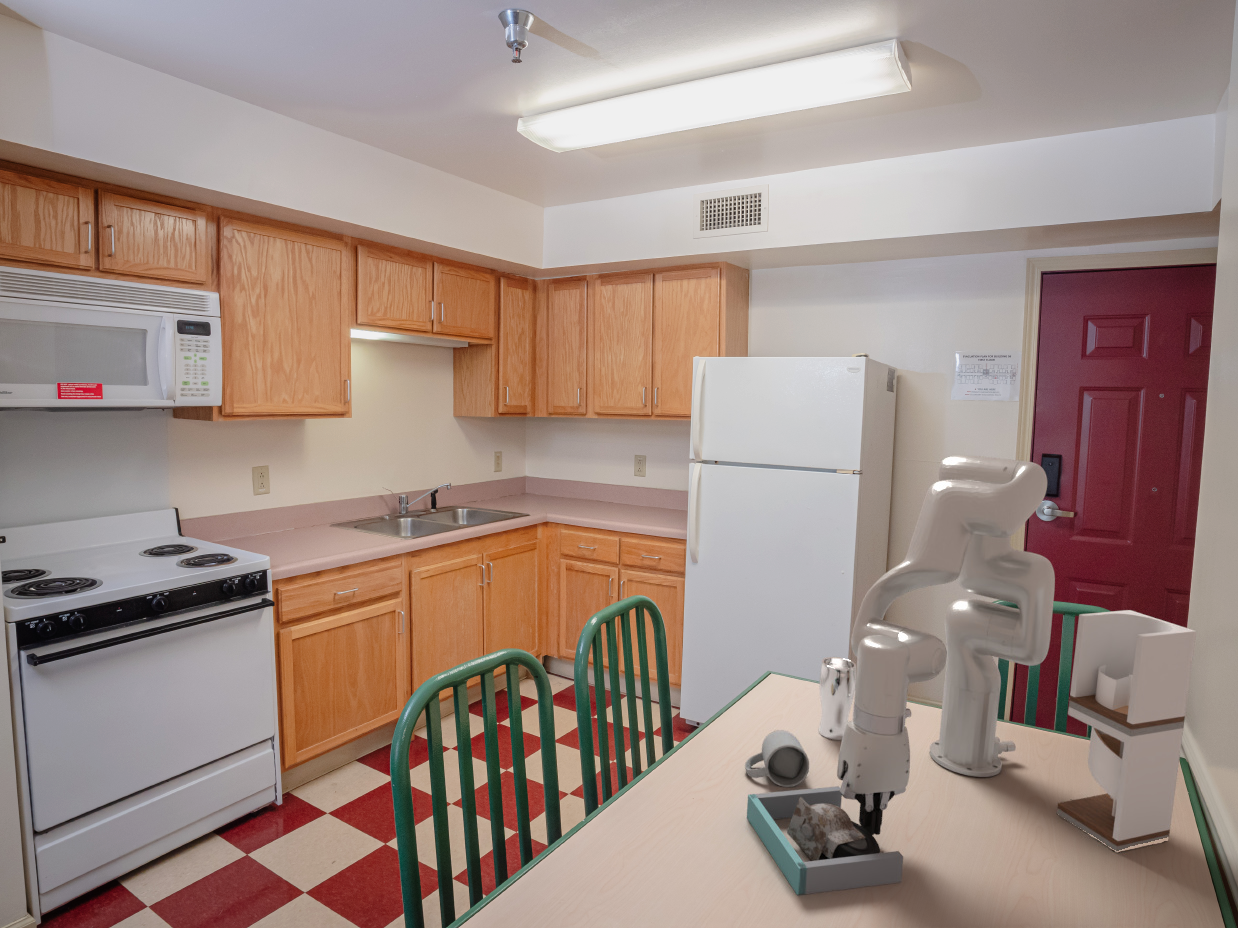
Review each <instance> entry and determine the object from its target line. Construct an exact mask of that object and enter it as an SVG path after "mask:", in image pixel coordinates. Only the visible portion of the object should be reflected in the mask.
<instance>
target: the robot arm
mask: <svg viewBox="0 0 1238 928" xmlns="http://www.w3.org/2000/svg"><path fill="white" fill-rule="evenodd" d="M938 479H939V480H938V481H936V482H934V483H933V484H931V485H930V486H929V488H928V489H927V491H926V494H925V497H924V500H923V503H922V506H921V509H920V512H919V515H918V518H917V521H916V524H915V528H914V531H913V534H912V537H911V540H910V543H909V546H908V550H907V553H906V555H905V558H904V559H903V561H902V562H900V563H899V564H897V565H896V566H894V567H893V568H891V569H889V570H888V571H887V572H886V573H884V574H883V575H882V576H880V578H878V579H877V580H876V582H874V583H873V585H872V586H871V587H870V588H869V589H868V590H867V591H866V593H865V595H864V597H863V599H862V601H861V603H860V604H861V605H860V607H859V610H858V611H857V612H858V613H857V615H856V618H855V621H854V625H853V628H852V633H851V634H852V635H851V640H850V641H851V642H850V643H851V650H852V652H853V655H854V656H855V657H856V658H857V660H856V683H855V693H854V697H853V710H852V711H853V712H852V720H848V723H847V725H846V728H845V731H844V734H843V738H842V740H841V741H840V742H841V744H840V748H839V754H838V760H837V769H836V770H837V771H836V776H837V779H838V780H841V781H842V782H841V785H840V794H841V795H842V797H843V798H844V799H846V800H853V801H855V800H856V801H857V803H859V817H858V822H859V823H858V824H859V825H860V826H862V827H863V828H865V829H866V830H867V831H868V832H869V833H871V834H872V836H874V835H876V836H877V835H880V834H881V829H882V827H881V826H882V824H883V812H884V810H887V807H888V803H889V802H890V801H891V800H892V799H893V798H894V796H897V795H898V796H899V795H900V794H901V795H902V794H904V793H905V792H906V790H907V789H906V787H908V783H909V780H910V774H911V773H910V770H911V769H910V768H911V751H910V750H911V749H910V739H909V737H910V736H909V732H908V729H907V728H908V727H906V726H905V725H906V720H907V719H908V718H911V717H912V710H911V709H910V708H909V707H908V708H907V703H908V692H909V685H910V684H914V683H923V682H927V681H931V680H933V679H934V678H936V677H937V676H939V675H940V674H941V672H943V671H944V669H945V674H944V675H945V676H944V683H943V684H944V685H943V695H942V703H941V704H942V706H941V717H940V728H939V737H938V740H934V741H933V742H932V743H930V745H929V756H930V758H932V760H933V761H935V762H936V764H938V765H940V766H941V767H943V768H945V769H946V770H949V771H952V772H954V773H957V774H961V775H964V776H969V777H974V778H976V777H977V778H989V777H994V776H996V775H998V774H999V773H1001V771H1002V767H1003V763H1002V760H1001V758H1000V757H999V755H1001V754H1002V753H1003V752H1005V753H1008V752H1015V751H1016V744H1015V742H1014V741H1013V740H1003V741H1001V740H1000V738H999V737H998V736H996V734H997V732H996V731H997V722H998V716H999V715H998V713H999V703H1000V693H1001V685H1002V680H1001V679H1002V677H1001V673H1000V670H999V667H998V664H997V663H996V660H995V659H994V658H998V659H1002V660H1006V661H1009V662H1012V663H1016V664H1020V665H1025V666H1037V665H1040V664H1042V663H1043V662H1044V660H1045V659H1046V657H1047V655H1048V652H1049V650H1050V649H1049V648H1050V644H1051V633H1052V623H1053V622H1052V621H1053V611H1054V610H1053V609H1054V601H1055V600H1054V599H1055V598H1054V597H1055V587H1056V586H1055V583H1056V581H1055V580H1056V576H1055V570H1054V567H1053V564H1052V563H1051V561H1050V560H1049V559H1048V558H1047V557H1045V556H1043V555H1041V554H1038V553H1034V552H1031V551H1025V550H1018V549H1014V548H1012V545H1011V536H1013V535H1014V534H1016V533H1017V532H1018V531H1019V530H1020V529H1021V528H1022V527H1023V525H1024V524H1025V523H1026V522H1027V521H1028V520H1029V518H1031V516H1032V515H1033V514H1034V513H1035V512H1036V510H1038V508H1039V507H1040V505H1041V504H1042V503H1043V501H1044V498H1045V496H1046V494H1047V490H1048V489H1047V488H1048V477H1047V474H1046V471H1045V470H1044V468H1043V467H1042V466H1040V464H1038V463H1035V462H1032V461H1027V460H1017V459H1007V458H1000V457H999V458H997V457H992V456H984V455H983V456H981V455H972V454H971V455H970V454H968V455H967V454H964V455H963V454H958V455H957V454H956V455H955V454H954V455H951V456H948V457H945V458H943V460H941V462H940V463H939V467H938ZM956 580H957V583H958V585H959V586H960V587H961V588H962V589H963V590H964V591H966V592H967V593H968V592H969V593H971V594H974V595H977V596H978V595H979V596H982V597H986V598H990V599H995V600H997V601H998V600H999V601H1004V602H1008V603H1012V604H1015V605H1017V608H1015V607H1011V606H1006V605H1003V604H1001V603H1000V604H999V603H994V602H991V601H986V600H981V599H977V598H969V597H968V598H967V597H966V598H958V599H956V600H953V602H951V603H950V604H949V605H948V606H947V608H946V611H945V614H944V632H945V633H944V634H945V642H946V643H944V642H943V640H942V639H940V638H939V637H937V635H934V634H932V633H929V632H926V631H923V630H919V629H915V628H912V627H909V626H905V625H902V624H898V623H895V622H892V621H887V620H884V617H885V614H886V612H887V610H888V609H889V608H890V606H891V604H892V603H893V602H894V601H896V600H897V599H898V598H899V597H902V596H903V595H904V594H907V593H909V592H912V591H915V590H919V589H924V588H927V587H932V586H934V587H935V586H939V585H946V584H950V583H952V582H954V581H956ZM945 644H946V645H945Z"/></svg>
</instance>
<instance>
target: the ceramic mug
mask: <svg viewBox="0 0 1238 928" xmlns="http://www.w3.org/2000/svg"><path fill="white" fill-rule="evenodd" d="M809 760H810V759H809V757H808V755H807V753H806V751H805V750H804V748H803V745H802V744H801V742H800V740H799V739H798V738H797V737H796V736H795V735H794V734H793V733H791V732H790V731H789V730H784V729H777V730H773V731H771V732H770V733H769V734H767V735H766V736H765V738H764V739H763V741H762V745H761V752H759V753H756V754H754V755H752V756H750V757H749V758H748V759H747V760H746V761H745V763H744V764H745V765H744V768H745V769H744V770H745V771H746V774H747V775H748V776H749V777H750V778H755V779H757V778H763V777H767V776H768V779H770V780H771V782H773V784H775V785H778V786H780V787H783V788H791V787H797V786H798V785H800V784H802V783H803V781H804V780H805V779H806V778H807V776H808V773H809V770H810V761H809ZM760 762H763V763H764V766H763V767H760V768H755V769H754V768H752V767H753V766H754V765H756V764H758V763H760Z"/></svg>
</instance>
